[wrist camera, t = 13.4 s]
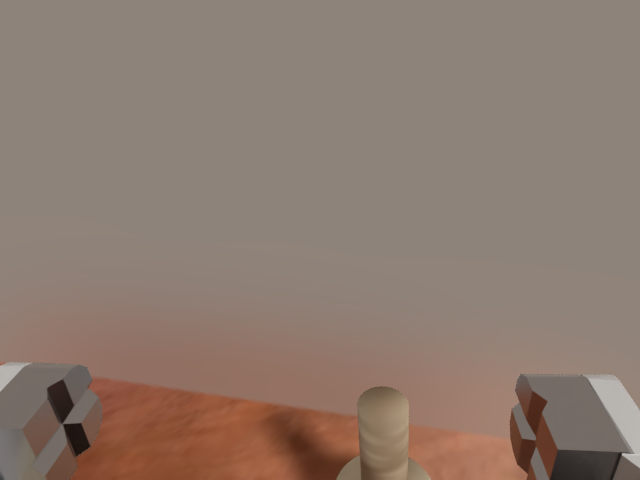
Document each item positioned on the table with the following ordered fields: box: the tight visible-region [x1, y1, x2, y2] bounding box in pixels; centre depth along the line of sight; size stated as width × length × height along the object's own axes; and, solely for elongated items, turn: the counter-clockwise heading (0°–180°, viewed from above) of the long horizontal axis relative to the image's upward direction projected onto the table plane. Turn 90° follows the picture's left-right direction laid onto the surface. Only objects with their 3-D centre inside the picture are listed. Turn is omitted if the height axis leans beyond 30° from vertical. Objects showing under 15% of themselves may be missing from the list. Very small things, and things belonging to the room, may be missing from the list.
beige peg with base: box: [336, 387, 431, 480], centre depth 29 cm, size 7×7×9 cm
